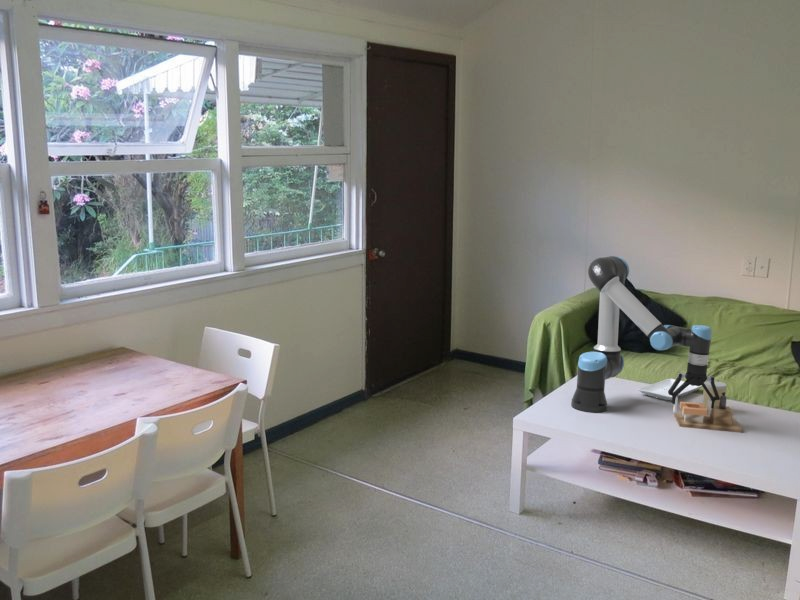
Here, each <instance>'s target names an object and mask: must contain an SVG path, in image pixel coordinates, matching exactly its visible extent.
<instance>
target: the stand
mask: <svg viewBox="0 0 800 600" xmlns="http://www.w3.org/2000/svg"><path fill="white" fill-rule="evenodd" d="M727 398H728V396H726V395H725V396H720V404H719V406H718V405H714V408H711V412H710V417H709V416H702V415H691V414H683V412H682V411H681V413H680V412H679V413H678V412H676V413H674V412H673V413H674V414H673V415H674V416H673V417H674V418H675V421H676V422H677V423H676V424H678V426H679V427H682V428H692V429H693V428H694V429H703V430H712V431H713V430H715V431H724V432H732V433H733V432H735V433H744V429H743V427H742V426H741V425H740V423H738V421H737V420H736V418H734V410H733V409H732V408H731V406H729V405H728V406H727Z"/></svg>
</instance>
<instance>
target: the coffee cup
mask: <svg viewBox="0 0 800 600" xmlns="http://www.w3.org/2000/svg"><path fill="white" fill-rule="evenodd" d="M714 383H715V386H716V389H717V392H718V395H719V397H720V396H726V392H727V384H726V383H724V382H722V381H716V380H714ZM704 384H705V385H706V387H707V388H708V390H709V391H710V393H711V394H712V396H713V397H715V394H714V392H713V389H712V386H711V383H710V382H709V381H708V380H706V381H705V382H704ZM702 393H703V394H702V404H704V406H705V407H706V409H707V408H708V400H709V399H711V398H710V397H709V395H708V394H707V392H706V391H705V389H704V388H703V391H702ZM719 404H720V400H715V402H714V405H718V406H719Z"/></svg>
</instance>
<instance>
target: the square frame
mask: <svg viewBox="0 0 800 600" xmlns="http://www.w3.org/2000/svg"><path fill="white" fill-rule="evenodd" d="M679 408H680V410H681V413H682V412H683V414H691V415H702V416H707V409H706V407H705V406H704V404H703V403H698V402H690V401H689V402H687V401H680V403H679Z"/></svg>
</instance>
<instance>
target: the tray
mask: <svg viewBox="0 0 800 600" xmlns="http://www.w3.org/2000/svg"><path fill="white" fill-rule="evenodd" d="M676 379H677V378H676ZM676 379H674V378H666V379H664V380H661V381H657V382H654V383H652V384H649V385H645V386H643V387H640V388H638V392H640V393H642V394H645V396H647V395H649V396H648V397H650V396H653V397H652V398H654V397H657V398H656V399H658V398H661V399H660V400H662V399H665V400H664V401H666V400H670V401H672V400H671V399H672V396H671V395H669V393H668V391H669V389H670V388H671V386H672V385H673V383H674V382H675V380H676ZM685 381H686V380H685ZM685 381H684V380H681V381H680V383H679V384H678V386H677V387H676V389H675V390H677V389H678V388H679V387H680V386H681V385H682V384H683V383H684V382H685ZM662 388H663V389H662ZM701 388H703V387H702V385H701V386H696V385H695V386H691V385H689V386H687V387H686V388H685V389H684V390H683V391H681V392H680V393H679V394H678V395H677V397H678V398H680V397H679V396H681V397H683V396H685V394H686V395H688V394H687V393H689V394H691V393H693V392H695V391H698V390H699V389H701ZM664 389H665V390H664ZM666 389H667V390H666ZM682 395H683V396H682Z"/></svg>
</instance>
